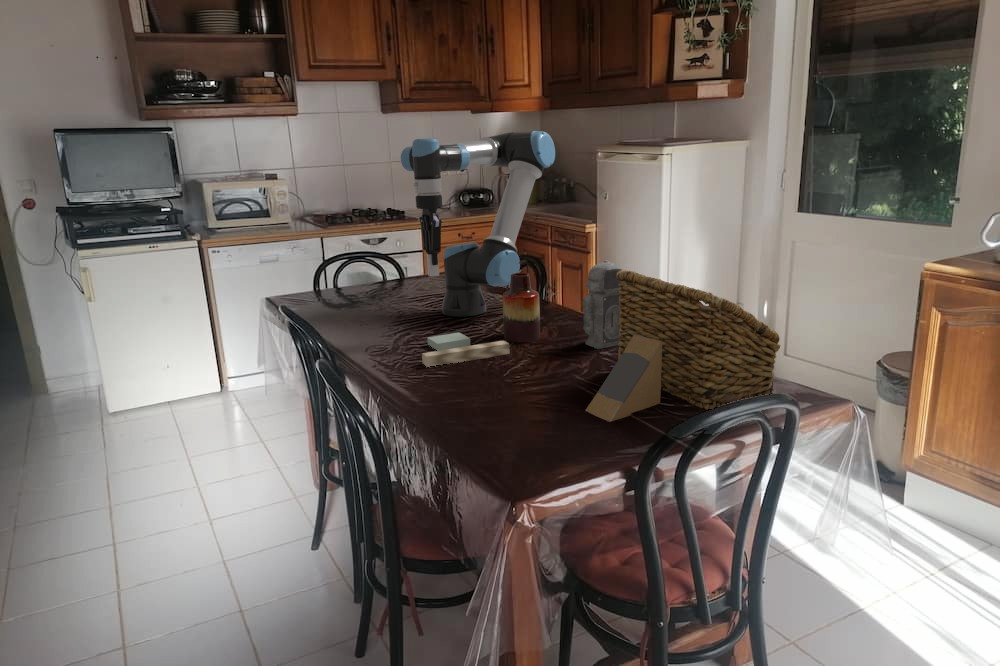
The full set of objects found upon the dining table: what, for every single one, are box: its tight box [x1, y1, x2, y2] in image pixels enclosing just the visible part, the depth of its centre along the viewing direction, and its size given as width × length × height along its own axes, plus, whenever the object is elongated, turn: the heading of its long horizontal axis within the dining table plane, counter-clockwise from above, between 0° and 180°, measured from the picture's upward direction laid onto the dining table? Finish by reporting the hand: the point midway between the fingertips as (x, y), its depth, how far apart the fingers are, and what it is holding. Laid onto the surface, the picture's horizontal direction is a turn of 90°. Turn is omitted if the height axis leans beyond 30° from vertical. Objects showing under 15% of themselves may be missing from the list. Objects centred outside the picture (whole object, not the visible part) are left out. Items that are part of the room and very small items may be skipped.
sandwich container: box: [585, 334, 662, 423], centre depth 155 cm, size 9×15×15 cm, turn 124°
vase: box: [502, 272, 541, 344], centre depth 210 cm, size 11×11×20 cm
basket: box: [616, 269, 781, 411], centre depth 168 cm, size 36×26×27 cm
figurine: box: [582, 259, 623, 350], centre depth 201 cm, size 10×14×25 cm
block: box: [426, 332, 471, 351], centre depth 206 cm, size 10×8×4 cm
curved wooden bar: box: [421, 340, 511, 368], centre depth 194 cm, size 24×4×4 cm, turn 114°
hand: (433, 275), depth 210 cm, fingers closed
